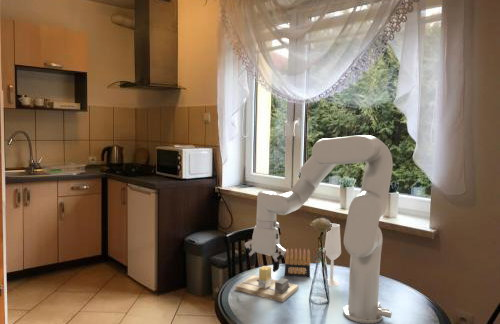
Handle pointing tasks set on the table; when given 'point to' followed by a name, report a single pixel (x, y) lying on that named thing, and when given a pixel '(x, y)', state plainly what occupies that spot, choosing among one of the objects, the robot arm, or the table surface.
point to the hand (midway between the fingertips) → (264, 268)
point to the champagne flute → (333, 249)
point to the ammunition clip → (297, 264)
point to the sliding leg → (264, 277)
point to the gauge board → (268, 288)
